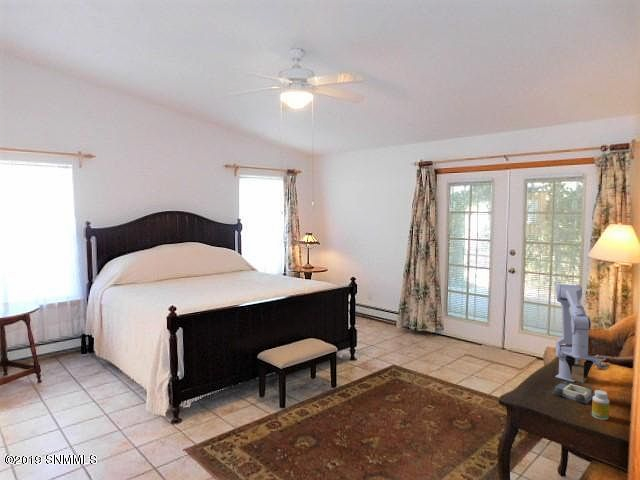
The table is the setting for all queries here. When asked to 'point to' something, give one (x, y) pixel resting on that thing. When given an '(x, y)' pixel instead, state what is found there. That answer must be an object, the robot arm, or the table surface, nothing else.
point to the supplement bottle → (600, 405)
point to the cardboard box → (578, 373)
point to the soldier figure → (601, 364)
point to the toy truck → (574, 392)
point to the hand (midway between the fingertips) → (579, 375)
